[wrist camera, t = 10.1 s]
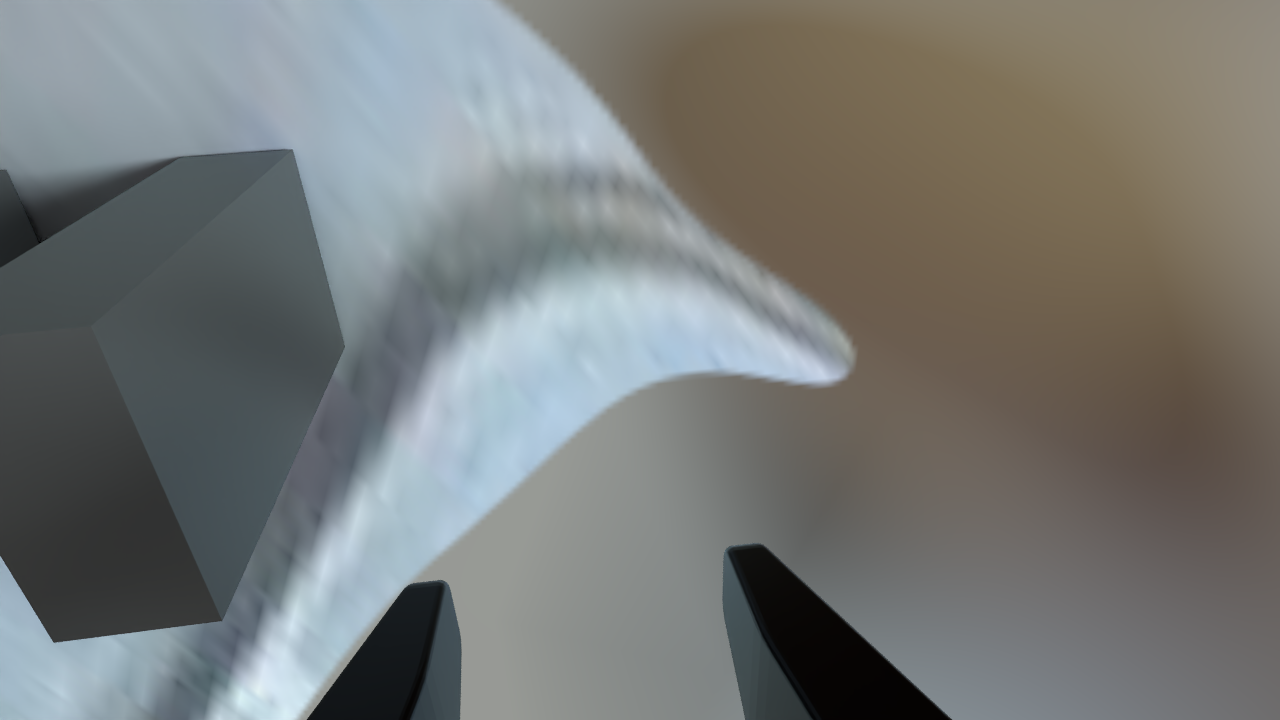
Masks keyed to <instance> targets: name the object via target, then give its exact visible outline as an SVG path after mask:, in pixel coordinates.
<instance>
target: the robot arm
mask: <svg viewBox="0 0 1280 720" xmlns="http://www.w3.org/2000/svg"><path fill="white" fill-rule="evenodd" d="M723 566H724V567H723V612H724V619H725V624H726V629H727V634H728V638H729V643H730V648H731V653H732V658H733V662H734V667H735V672H736V676H737V682H738V686H739V691H740V696H741V701H742V706H743V711H744V715H745V720H952V719H951V718H950V717H948V715H947V714H945V713H944V712H943V711H942V710H941V709H940V708H939V707H938V706H937V705H936V704H935V703H933V701H931V700H930V699H929V698H928V697H927V696H926V695H925V694H924V693H923V692H922V691H921V690H919V688H917V687H916V686H915V685H914V684H913V683H912V682H911V681H910V680H909V679H908V678H907V677H906V676H905V675H904V674H902V673H901V672H900V671H899V670H898V669H897V668H896V667H895V666H894V665H893V664H892V663H891V662H890V661H888V660H887V659H886V658H885V657H884V656H883V655H882V654H881V653H880V652H879V651H878V650H876V648H874V647H873V646H872V645H871V644H870V643H869V642H868V641H867V640H866V639H865V638H864V637H863V636H862V635H860V634H859V633H858V632H857V631H856V630H855V629H854V628H853V627H852V626H851V625H850V624H849V623H848V622H846V621H845V620H844V619H843V618H842V617H841V616H840V615H839V614H838V613H837V612H836V611H835V610H834V609H833V608H831V607H830V606H829V605H828V604H827V603H826V602H825V601H824V600H823V599H822V598H821V597H820V596H818V595H817V594H816V593H815V592H814V591H813V590H812V589H811V588H810V587H809V586H808V585H806V583H805V582H803V581H802V580H801V579H800V578H799V577H798V576H797V575H796V574H795V573H794V572H793V571H792V570H791V569H789V568H788V567H787V566H786V565H785V564H784V563H783V562H782V561H781V560H780V559H779V558H778V557H776V556H775V555H774V554H773V553H772V552H771V551H770V550H769V549H768V548H767V547H765V546H764V545H762V544H760V543H753V544H743V545H735V546H729V547H728V548H727V549H726V550H725V552H724V562H723ZM460 697H461V637H460V631H459V627H458V622H457V617H456V613H455V608H454V604H453V599H452V595H451V590H450V587H449V585H448V584H447V582H445V581H443V580H437V581H428V582H420V583H413V584H410V585H408V586H407V587H406V588H404V590H403V591H402V592H401V593H400V595H399V596H398V598H397V599H396V600H395V602H394V603H393V604H392V606H391V607H390V608H389V610H388V611H387V612H386V614H385V615H384V616H383V618H382V619H381V620H380V622H379V623H378V624H377V626H376V627H375V629H374V630H373V631H372V633H371V634H370V635H369V637H368V638H367V639H366V641H365V642H364V643H363V645H362V646H361V647H360V649H359V650H358V652H357V653H356V654H355V656H354V657H353V658H352V660H351V661H350V662H349V664H348V665H347V666H346V668H345V669H344V670H343V672H342V673H341V674H340V676H339V677H338V679H337V680H336V681H335V683H334V684H333V686H332V687H331V688H330V689H329V691H328V692H327V693H326V695H325V696H324V697H323V699H322V700H321V702H320V703H319V704H318V705H317V707H316V708H315V709H314V711H313V712H312V713H311V715H310V716H309V717H308V719H307V720H460Z"/></svg>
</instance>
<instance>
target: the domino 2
mask: <svg viewBox="0 0 1280 720" xmlns="http://www.w3.org/2000/svg"><path fill="white" fill-rule="evenodd" d="M344 348H345V345H344V341H343V337H342V334H341V330H340V326H339V322H338V318H337V315H336V311H335V307H334V303H333V300H332V296H331V292H330V288H329V284H328V281H327V277H326V273H325V269H324V266H323V262H322V258H321V254H320V250H319V247H318V243H317V239H316V235H315V232H314V228H313V224H312V220H311V216H310V213H309V209H308V205H307V201H306V198H305V194H304V190H303V186H302V183H301V179H300V175H299V171H298V167H297V164H296V160H295V156H294V152H293V150H279V151H265V152H251V153H237V154H223V155H209V156H195V157H181V158H179V159H177V160H175V161H174V162H172V163H170V164H169V165H167V166H166V167H164V168H162V169H161V170H159V171H157V172H156V173H154V174H153V175H151V176H149V177H148V178H146V179H144V180H143V181H141V182H139V183H138V184H136V185H135V186H133V187H131V188H130V189H128V190H126V191H125V192H123V193H122V194H120V195H118V196H117V197H115V198H113V199H112V200H110V201H109V202H107V203H105V204H104V205H102V206H100V207H99V208H97V209H95V210H94V211H92V212H91V213H89V214H87V215H86V216H84V217H82V218H81V219H79V220H78V221H76V222H74V223H73V224H71V225H69V226H68V227H66V228H64V229H63V230H61V231H60V232H58V233H56V234H55V235H53V236H51V237H50V238H48V239H47V240H45V241H43V242H42V243H40V244H38V245H37V246H35V247H34V248H32V249H30V250H29V251H27V252H25V253H24V254H22V255H20V256H19V257H17V258H16V259H14V260H12V261H11V262H9V263H7V264H6V265H4V266H3V267H1V268H0V556H1V558H2V559H3V561H4V562H5V564H6V566H7V567H8V569H9V571H10V572H11V574H12V575H13V577H14V579H15V580H16V582H17V584H18V585H19V587H20V589H21V590H22V592H23V593H24V595H25V597H26V598H27V600H28V602H29V603H30V605H31V606H32V608H33V610H34V611H35V613H36V615H37V616H38V618H39V619H40V621H41V623H42V624H43V626H44V628H45V629H46V631H47V633H48V634H49V636H50V637H51V639H52V641H53V642H54V643H55V642H63V641H71V640H78V639H86V638H94V637H101V636H109V635H117V634H125V633H132V632H140V631H148V630H155V629H163V628H171V627H179V626H186V625H194V624H202V623H209V622H217V621H222V620H223V618H224V616H225V613H226V611H227V609H228V607H229V604H230V602H231V600H232V598H233V596H234V593H235V591H236V589H237V587H238V584H239V582H240V580H241V578H242V575H243V573H244V571H245V569H246V567H247V564H248V562H249V560H250V558H251V555H252V553H253V551H254V549H255V546H256V544H257V542H258V540H259V537H260V535H261V533H262V531H263V529H264V526H265V524H266V522H267V520H268V517H269V515H270V513H271V511H272V508H273V506H274V504H275V502H276V499H277V497H278V495H279V493H280V491H281V488H282V486H283V484H284V482H285V479H286V477H287V475H288V473H289V470H290V468H291V466H292V464H293V462H294V459H295V457H296V455H297V453H298V450H299V448H300V446H301V444H302V441H303V439H304V437H305V435H306V432H307V430H308V428H309V426H310V424H311V421H312V419H313V417H314V415H315V412H316V410H317V408H318V406H319V403H320V401H321V399H322V397H323V395H324V392H325V390H326V388H327V386H328V383H329V381H330V379H331V377H332V374H333V372H334V370H335V368H336V365H337V363H338V361H339V359H340V357H341V354H342V352H343V350H344Z"/></svg>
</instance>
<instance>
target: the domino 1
mask: <svg viewBox="0 0 1280 720" xmlns="http://www.w3.org/2000/svg"><path fill="white" fill-rule="evenodd" d="M38 244H39V242H38V240H37V237H36V235H35V233H34V231H33V228H32V226H31V224H30V222H29V219H28V217H27V215H26V213H25V210H24V208H23V206H22V204H21V201H20V199H19V197H18V195H17V192H16V190H15V188H14V185H13V183H12V181H11V179H10V176H9V174H8V172H7V170H0V268H1V267H3V266H4V265H6V264H7V263H9V262H11V261H12V260H14V259H16V258H17V257H19V256H20V255H22V254H24V253H25V252H27V251H29V250H30V249H32V248H34V247H35V246H37V245H38Z"/></svg>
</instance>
